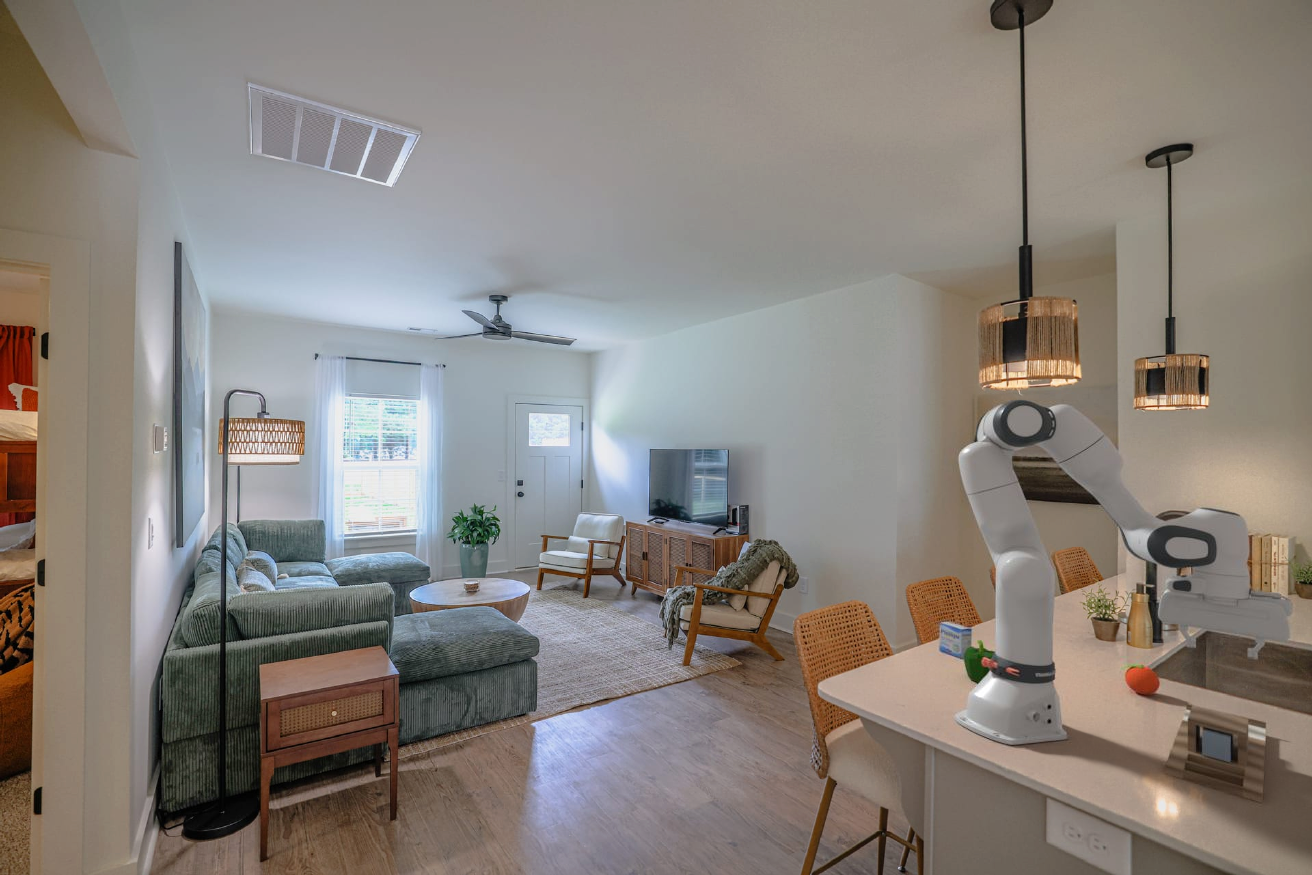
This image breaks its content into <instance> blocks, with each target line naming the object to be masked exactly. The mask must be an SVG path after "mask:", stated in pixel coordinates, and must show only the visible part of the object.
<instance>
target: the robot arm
mask: <svg viewBox="0 0 1312 875" xmlns="http://www.w3.org/2000/svg"><path fill="white" fill-rule="evenodd" d="M1030 446H1031V447H1032V446H1037V447H1040V448H1041V449H1043V450H1044V451H1045V452H1047V453H1048V454H1049V456H1050V457H1051V458H1052V459H1053V460H1054V462H1055V463H1056V464H1057V465H1058V466H1059V468H1061V469H1062V471H1063V472H1065V474H1067V475H1068V476H1069V477H1070V478H1072V479H1073V480H1074V481H1075V482H1076V483H1077V484H1079V485H1080V486H1081V487H1082V488H1084V489H1085V490H1086V491H1087V492H1088V493H1089V494H1090V495H1092V497H1094V499H1095V500H1096V501H1097V502H1098V504H1099V505H1101V506H1100V507H1102V508H1103V509H1104V510H1105V511H1106V513H1107V514H1108V515H1109V517H1110V518H1111V519H1112V521H1114V522H1115V523H1116V526H1118V529H1119V531H1120V534H1121V537H1122V541H1123V543H1124V545H1125V546H1124V547H1125V549H1127V551H1128V552H1129V553H1130V554H1132V556H1133V557H1135V558H1137V559H1139V560H1140V561H1141V560H1142V561H1144V562H1145V561H1146V562H1149V563H1153V564H1156V565H1159V566H1161V567H1165V568H1169V569H1182V568H1192V569H1191V570H1192V574H1183V575H1177V576H1171V577H1169V578H1167V579H1166V580H1165V590H1164V591H1163V593H1162V594H1161V596H1160V599H1159V603H1158V609H1157V616H1158V619H1159V620H1160V621H1161V622H1162V623H1165V624H1171V625H1172V624H1173V625H1179V626H1178V629H1179V632H1180V633H1181V635H1182V636H1183V637H1184V639H1185V646H1186V648H1191V649H1196V647H1197V644H1196V643H1197V639H1196V638H1194V637H1193V638H1192V637H1191V636H1190V633H1189V632H1188V631H1189V630H1190V627H1191V628H1196V629H1197V628H1198V629H1201V630H1202V629H1204V630H1209V631H1217V632H1222V633H1227V634H1234V635H1239V636H1245V637H1251V638H1252V637H1253V638H1254V641H1255V642H1254V643H1257V644H1256V645H1255V646H1254V647H1247V651H1246V652H1247V659H1251V660H1258V659H1259V658H1258V654H1259V651H1260V650H1261V649H1263V647H1264V646H1265V644H1266V640H1270V641H1278V642H1287V641H1288V640H1289V639H1291V630H1290V629H1291V628H1290V622H1289V619H1288V617H1290V616H1291V615H1292V614H1293V603H1292V601H1291V600H1290V598H1288V597H1286V596H1284V595H1282V593H1279V592H1278V593H1277V592H1268V591H1267V592H1266V591H1262V590H1255V589H1250V588H1251V586H1250V585H1251V584H1250V581H1251V580H1250V579H1251V577H1250V576H1251V573H1250V570H1249V568H1248V559H1249V556H1250V537H1249V530H1248V524H1247V523H1246V520H1245V518H1244V517H1243V516H1241V515H1240V514H1239V513H1236V512H1233V511H1228V510H1222V509H1217V508H1211V507H1197V509H1195V510H1194V511H1191V513H1188V514H1185V515H1183V516H1181V517H1177V518H1173V519H1169V520H1163V519H1161V518H1158V517H1156V516H1154V515H1152V514H1150V513H1149V512H1148V511H1147V510H1146V509H1145V508H1144V507H1143V505H1141V504H1140V502H1139V501H1138V500H1137V499H1136V498H1135V497H1134V495H1133V494H1132V493H1131V492H1130V490H1128V488H1127V487H1126V486H1125V484H1124V483H1123V481H1122V477H1121V472H1122V470H1123V465H1124V458H1123V457H1122V455H1121V453H1120V452H1119V450H1118V449H1117V447H1116V446H1115V445H1114V443H1113V442H1112V440H1111V439H1110V438H1109V437H1108V436H1107V435H1106V434H1105V433H1104V432H1103V431H1102V430H1101V429H1100V428H1099V427H1098V426H1097V425H1096V424H1095V423H1094V422H1093V421H1092V420H1090V419H1089V418H1088V417H1087V416H1085V415H1084V414H1083V413H1082V412H1081V411H1080V410H1078V409H1076V408H1075V407H1073V406H1072V405H1069V404H1062V403H1060V404H1056V405H1052V406H1050V407H1046V406H1042V405H1040V404H1038V403H1035V402H1033V401H1030V400H1026V399H1015V400H1014V399H1013V400H1010V401H1007V402H1004V403H1001V404H999V405H996V406H994V407H992V408H991V409H990V410H988V411H987V412H986V413H984V414H983V415H982V416H981V417H980V419H979V421H978V423H977V425H976V431H975V435H974V440H973V442H972V443H970V444H968V445H966V446H965V447H963V448H962V450H960V452H959V454H958V466H959V473H960V478H961V481H962V485H963V488H964V491H965V494H966V496H967V498H968V502H969V504H970V506H971V510H972V512H973V515H974V518H975V520H976V523H977V525H978V526H977V527H978V528H979V531H980V532H981V535H982V536H983V539H984V542H985V544H986V547H987V549H988V552H989V554H990V556H991V559H992V561H993V564H994V567H995V632H994V633H995V635H994V636H995V637H994V638H995V639H994V640H995V645H994V646H995V647H994V650H995V652H994V653H993V656H992V659H988V658H986V657H984V658H983V660H982V662H981V663H982V665H983V666H985V667H989V669H990V671H989V673H988V674H987V675H986V676H985V677H984V678H983V679H982V680H981V681H980V682H978V684H976V686H975V687H974V688H972V690H971V691H970V692H969V694H968V696H967V700H966V701H967V703H966V709H963V710H961V711H959V712H957V713H955V714H954V720H955V721H956V722H957V723H958V724H959V725H960V726H962V727H965V728H966V729H968V730H970V731H972V732H974V733H975V734H978V735H980V736H982V737H984V738H987V739H990V740H992V741H996V742H998V743H1002V744H1004V745H1009V746H1010V745H1011V746H1012V745H1014V746H1015V745H1025V744H1033V743H1035V744H1036V743H1043V742H1052V741H1062V740H1068V733H1067V732H1066V730H1064V728H1063V721H1062V712H1061V700H1060V695H1059V694H1058V692H1057V689H1056V688H1055V684H1054V681H1055V679H1056V672H1057V671H1056V663H1055V662H1054V661H1053V660H1054V659H1053V657H1054V656H1053V652H1054V650H1053V648H1054V647H1053V646H1054V644H1053V643H1054V642H1053V641H1054V638H1053V637H1054V634H1053V633H1054V631H1053V630H1054V615H1055V591H1056V573H1055V570H1054V568H1053V566H1052V563H1051V561H1050V559H1049V557H1048V554H1047V551H1046V549H1045V546H1044V543H1043V541H1042V538H1041V536H1040V533H1039V531H1038V528H1037V525H1036V523H1035V520H1034V517H1033V515H1032V513H1031V510H1030V507H1029V505H1028V502H1027V499H1026V497H1025V495H1024V491H1023V489H1022V486H1021V485H1020V482H1019V479H1018V477H1017V475H1016V472H1015V470H1014V466H1013V455H1014V453H1015V451H1020V450H1022V449H1023V450H1024V449H1026V448H1027V447H1030Z"/></svg>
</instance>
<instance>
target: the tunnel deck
mask: <svg viewBox="0 0 1312 875" xmlns="http://www.w3.org/2000/svg"><path fill="white" fill-rule="evenodd" d="M1216 710H1217V709H1213V710H1212V708H1206V707H1202V706H1198V705H1194V704H1189V703H1186V709H1185V712H1184V715H1183V718H1182V719H1181V723H1180V726H1179V728H1178V731H1177V733H1176V737H1175V738H1174V742H1173V744H1172V746H1171V747H1172V748H1171V749H1170V751H1169V755H1168V757H1167V759H1166V763H1165V774H1166V775H1169V776H1172V777H1176V778H1177V779H1182V780H1185V781H1188V782H1191V783H1195V784H1198V785H1202V786H1205V787H1208V788H1213V789H1216V790H1218V791H1222V792H1225V793H1229V794H1232V795H1235V796H1238V797H1240V798H1244V799H1248V800H1252V801H1255V802H1259V803H1262V804H1263V803H1264V785H1265V766H1266V765H1265V763H1266V744H1267V743H1266V741H1267V739H1266V738H1267V732H1266V731H1267V722H1266V721H1263V720H1258V719H1253V718H1250V717H1245V716H1241V715H1237V714H1234V715H1233V713H1230V714H1229V712H1226V713H1224V712H1225V711H1222V712H1220V710H1217V711H1216ZM1203 727H1206V728H1210V729H1214V730H1218V731H1222V732H1226V733H1230V734H1234V735H1235V737H1234V743H1233V749H1232V755H1231V761H1230V762H1227V761H1223V760H1220V759H1216V758H1212V757H1209V756H1205V755H1202V730H1203Z"/></svg>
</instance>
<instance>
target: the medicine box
mask: <svg viewBox="0 0 1312 875" xmlns="http://www.w3.org/2000/svg"><path fill="white" fill-rule="evenodd" d="M972 631H973V629H972V628H971V627H968V626H965V625H961V624H957V623H955V622H952V621H942V622H940V623H939V640H938V641H939V645H938V648H939V649H938V650H939V651H940V652H941V653H943V654H946V655H949V656H952V657H956V658H958V659H961V660H962V659H963V660H964V653H965V651H966V650H967V648H969V647H970V646H971V647H972V641H973V640H972V637H973V636H972V634H973V632H972Z"/></svg>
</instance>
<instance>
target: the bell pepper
mask: <svg viewBox="0 0 1312 875" xmlns="http://www.w3.org/2000/svg"><path fill="white" fill-rule="evenodd" d="M977 644H978V646H979V647H974V646H972V645H971V646H970V647H969V648H967V650H966V651H965V653H964V658H963V662H964V667H965V670H966V675H967V676H968V678H969V679H970V680H972V681H973V682H975V683H979V682H980V681H981V680H982V679H983V678H984V677H985V676H986V675H987V674H988V673H989V671H990V669H989V667H985V666H983V665H982V663H981V662H982V660H983V658H984V657H986V658H988V659H992V656H993V653H994V652H995V651H994V650H988V649H987V648H985V647H984V643H983V641H982V640H980V639H978V640H977Z"/></svg>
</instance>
